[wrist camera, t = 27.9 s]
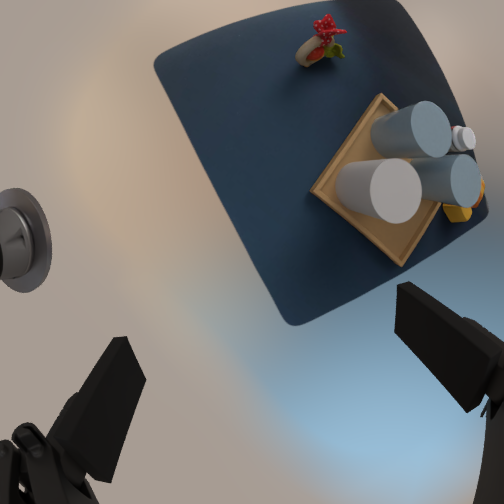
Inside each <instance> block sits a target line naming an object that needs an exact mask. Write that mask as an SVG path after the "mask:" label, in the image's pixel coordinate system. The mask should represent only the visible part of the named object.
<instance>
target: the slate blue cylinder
mask: <svg viewBox="0 0 504 504" xmlns="http://www.w3.org/2000/svg"><path fill="white" fill-rule="evenodd" d="M371 140H372V143H373V145H374V147H375V149H376V150H377V152H378V153H379V154H380V155H382V156H383V157H385V158H387V159H392V158H398V159H416V158H439V157H442V156H444V155H445V154H446V153H447V152H448V151H449V149H450V146H451V142H452V132H451V127H450V124H449V121H448V119H447V117H446V115H445V114H444V112H443V111H442V110H441V109H440V108H439V107H438V106H437V105H435V104H434V103H432V102H429V101H422V102H419V103H416V104H413V105H410V106H407V107H404V108H401V109H398V110H395V111H392V112H390V113H387V114H384V115H381V116H379V117H377V118H376V119H375V120H374V122H373V124H372V126H371Z"/></svg>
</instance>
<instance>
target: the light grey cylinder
mask: <svg viewBox="0 0 504 504" xmlns="http://www.w3.org/2000/svg"><path fill="white" fill-rule="evenodd" d="M335 189H336V194H337V197H338V199H339V201H340V202H341V203H342V205H343V206H345V207H346V208H347V209H349V210H352V211H355V212H358V213H362V214H365V215H368V216H371V217H374V218H378V219H381V220H384V221H387V222H390V223H395V224H398V223H403V222H405V221H407V220H409V219H410V218H411V217H412V216H413V215H414V214H415V213H416V211H417V209H418V207H419V205H420V202H421V196H422V187H421V182H420V179H419V176H418V174H417V172H416V170H415V169H414V168H413V167H412V166H411V165H410V164H409V163H408V162H406V161H404V160H402V159H398V158H392V159H380V160H369V161H359V162H352V163H349V164H347V165H345V166H344V167H343V168H342V169H341V170H340V171H339V173H338V175H337V178H336V183H335Z"/></svg>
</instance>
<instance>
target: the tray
mask: <svg viewBox="0 0 504 504" xmlns="http://www.w3.org/2000/svg"><path fill="white" fill-rule="evenodd" d="M395 110H398V108H397V107H396V106H395V105H394V104H393V103H392V102H391V101H389V100H388V99H387V98H386V97H385V96H384V95H383V94H382V93H380V94H378V95H376V96H375V98H374V99H373V101H372V102H371V104H370V105H369V106H368V108H367V109H366V111H365V112H364V114H363V115H362V117H361V118H360V119H359V121H358V122H357V124H356V125H355V127H354V128H353V129H352V131H351V132H350V134H349V135H348V137H347V138H346V140H345V141H344V142H343V144H342V145H341V147H340V148H339V150H338V151H337V152H336V154H335V155H334V157H333V158H332V159H331V161H330V162H329V164H328V165H327V167H326V168H325V169H324V171H323V172H322V174H321V175H320V176H319V178H318V179H317V181H316V182H315V184H314V185H313V186H312V188H311V189H310V192H311V193H312V194H314V195H315V196H316V197H318V198H319V199H320V200H321V201H323V202H324V203H325V204H327V205H328V206H329V207H330V208H332V209H333V210H334V211H335V212H337V213H338V214H339V215H340V216H341V217H343V218H344V219H345V220H346V221H348V222H349V223H350V224H351V225H352V226H354V227H355V228H356V229H357V230H358V231H359V232H361V233H362V234H363V235H364V236H365V237H366V238H368V239H369V240H370V241H371V242H372V243H373V244H374V245H376V246H377V247H378V248H379V249H380V250H381V251H382V252H384V253H385V254H386V255H387V256H388V257H389V258H390V259H391V260H392V261H393V262H394V263H396V264H397V265H399V266H401V267H402V266H403V264H404V263H405V262H406V260H407V259H408V257H409V256H410V254H411V253H412V251H413V250H414V248H415V246H416V245H417V243H418V242H419V240H420V239H421V237H422V235H423V234H424V232H425V231H426V229H427V227H428V226H429V224H430V222H431V221H432V219H433V217H434V215H435V214H436V212H437V210H438V208H439V207H440V205H441V203H439V202H434V201H428V200H423V199H421V202H420V205H419V207H418V209H417V211H416V213H415V214H414V215H413V216H412V217H411V218H410V219H409V220H407V221H405V222H403V223H398V224H395V223H390V222H387V221H384V220H381V219H378V218H374V217H371V216H368V215H365V214H362V213H358V212H355V211H352V210H349V209H347V208H346V207H345V206H343V205H342V203H341V202H340V201H339V199H338V197H337V194H336V189H335V183H336V178H337V175H338V173H339V171H340V170H341V169H342V168H343V167H344V166H345V165H347V164H349V163H352V162H359V161H369V160H380V159H387V158H385V157H383V156H382V155H380V154H379V153H378V152H377V150H376V149H375V147H374V145H373V143H372V140H371V126H372V124H373V122H374V120H375V119H376V118H377V117H379V116H381V115H384V114H387V113H390V112H392V111H395ZM402 160H404V161H406V162H408V163H410V162H411V160H412V159H402Z"/></svg>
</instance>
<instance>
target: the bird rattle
mask: <svg viewBox="0 0 504 504" xmlns="http://www.w3.org/2000/svg"><path fill="white" fill-rule="evenodd" d="M313 27H314V29H315V30H316V31H317V32H318V34H316V35H314V36H313V38H311V39H309V40H308V41H307V42H305V43H304V44H303V45H302V46H301V47H300V48H299V50H298V51H297V53H296V56H295V59H296V61H297V62H298V63H299V64H300V65H302V66H305V67H308V66H310V65H311V64H313V63H314V62H316V61H318V60H320V59H321V58H322V57H324V56H325V55H326V57H329V58H331V57H333V56H337V57H339V58H345V57H344V55H343V54H342V50H343V49H342V47H341V46H340V45H338V44H336V43H334V42H335V41H334V38H333V35H337V34H344V33H347V32H346V30H340V29H335V28H336V25H335V23H334V21H333V18H332V17H331V15H330V14H326V16H325V17H324V18H323V20H317V21H315V22H314V26H313Z"/></svg>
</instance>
